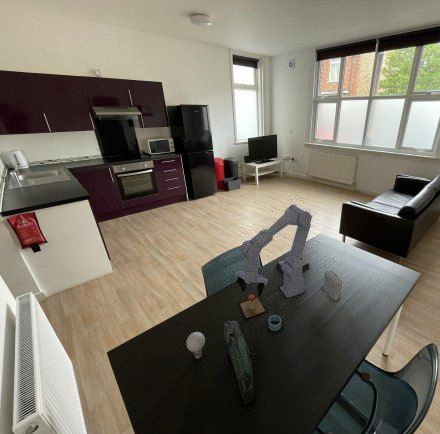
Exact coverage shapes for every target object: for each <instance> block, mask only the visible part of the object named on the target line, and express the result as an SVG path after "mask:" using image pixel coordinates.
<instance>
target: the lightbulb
mask: <svg viewBox="0 0 440 434" xmlns="http://www.w3.org/2000/svg"><path fill="white" fill-rule="evenodd" d="M205 345H206V337H205V335H204V334H203V333H202V332H200V331H195V332H191V333H190V334H189V335H188V336H187V339H186V341H185V346H186V349H187V350H188V351H189V352H191V353H193V355H194V358H195V359H197V360H198V359H200V358H202V357H203V348H204V347H205Z"/></svg>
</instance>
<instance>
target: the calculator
mask: <svg viewBox="0 0 440 434" xmlns="http://www.w3.org/2000/svg"><path fill="white" fill-rule="evenodd" d="M300 261H301V264H302V266H303V268H302V272H303V271H307V270H308V269H309V268H310V263H309V261H307V260H305V259H304V258H302V257H301V259H300ZM283 262H284V259H281V260H279V261H277V262H276V269H277V270H278V271H280V272H281V273H282V274H283V271H282V270H281V265H282V263H283Z"/></svg>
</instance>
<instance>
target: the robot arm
mask: <svg viewBox="0 0 440 434" xmlns="http://www.w3.org/2000/svg"><path fill="white" fill-rule="evenodd" d="M312 219H313V215H312V214H311V212H309V211H308V210H305V209H304V208H302V207H300V206H298V205H297V204H295V203H293V204H290V205H289V206H288V207H287V208H286V209H285V210H284V212H283V214H282V215H281V216H280V217H279V218H278V219H277V220H276V221H275V222H274V223H273V224H271V226H270V227H268V228H263V229H262V230H259V232H258V233H257V234H255V235H254V236H253V237H251V238H250V239H248V240H244V241H243V242H242V244H241V246H240V247H239V250H240V251H241V253H242V257H243V258H242V259H243V261H242V262H243V271H239V270H236V272H235V273H234V276H235V278H237V279H236V283H237V284H238V285H239V287H240V288H241V291H242V293H245V292H246V290H247V285H249V284H251V283H256V284H257V283H258V284H257V285H256V289H257V295H258V298H259V297H261V296H262V295H263V290H264V287H265V286H267V285H268V284H269V278H267V277H264V276H263V275H261V274H259V262H258V261H259V260H258V259H259V258H258V257H259V256H260V254H261V252H262V251H263V249H264V248H265V247H266V246H268V244H270V243H271V242H272V241H273V238H274V236H276V235H277V234H278V233H279V232H280V231H282V230H283V229H285V228H286V227H288V226H296V230H295V233H294V237H293V241H292V245H291V247H290V251H289V255H288V256H286V257H285V258H284V259H283V260H284V262H283V263H282V265H281V270H282V271H283V273H282V274H283V285H282V286H279V289H280V290H281V292H282V293H283V295H284V296H285V297H286V298H287V299H290V298H291V297H295V296H297V295H300V294H304V292H305V291H304V286H305V285H304V284H305V283H304V282H305V280H304V279H305V278H304V276H303V271H302V268H303V266H302V264H301V261H300V259H301V258H302V255H303V252H304V249H305V245H306V242H307V239H308V236H309V232H310V229H311V223H312Z"/></svg>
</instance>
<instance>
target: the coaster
mask: <svg viewBox="0 0 440 434" xmlns="http://www.w3.org/2000/svg"><path fill="white" fill-rule="evenodd" d="M239 306H240V308H241V310H242V312H243V314H244V317H245V319H248V318H251V317H254V316H257V315H259V314H262V313H265V312H266V309H265V308H264V305H263V304H262V302H261V301H260V299H259V297H255V308H254V309H250V308H249V300H246V301H243V302H241V303H239Z"/></svg>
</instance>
